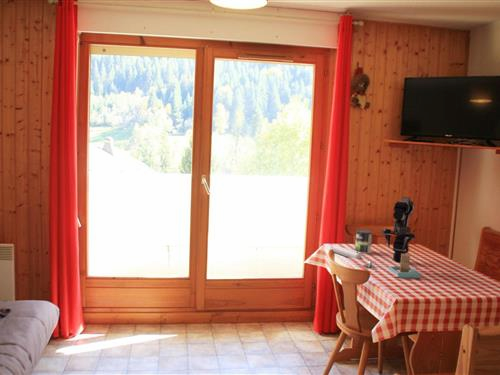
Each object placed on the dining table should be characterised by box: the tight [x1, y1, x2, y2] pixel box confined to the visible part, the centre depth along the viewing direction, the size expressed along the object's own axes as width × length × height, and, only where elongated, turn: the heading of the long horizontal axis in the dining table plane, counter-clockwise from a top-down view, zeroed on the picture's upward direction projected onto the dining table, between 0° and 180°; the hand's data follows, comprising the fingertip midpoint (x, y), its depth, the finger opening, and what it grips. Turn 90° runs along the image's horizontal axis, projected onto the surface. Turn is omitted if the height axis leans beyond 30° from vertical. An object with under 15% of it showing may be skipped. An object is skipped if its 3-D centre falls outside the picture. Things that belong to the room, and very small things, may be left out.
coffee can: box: [354, 229, 373, 255], centre depth 337 cm, size 10×10×14 cm
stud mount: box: [362, 261, 379, 270], centre depth 295 cm, size 7×7×4 cm
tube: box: [330, 243, 362, 260], centre depth 324 cm, size 5×5×25 cm
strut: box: [399, 253, 411, 273], centre depth 286 cm, size 4×4×11 cm
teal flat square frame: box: [388, 265, 421, 279], centre depth 287 cm, size 13×13×3 cm
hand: (396, 248), depth 300 cm, fingers open, 9 cm apart
